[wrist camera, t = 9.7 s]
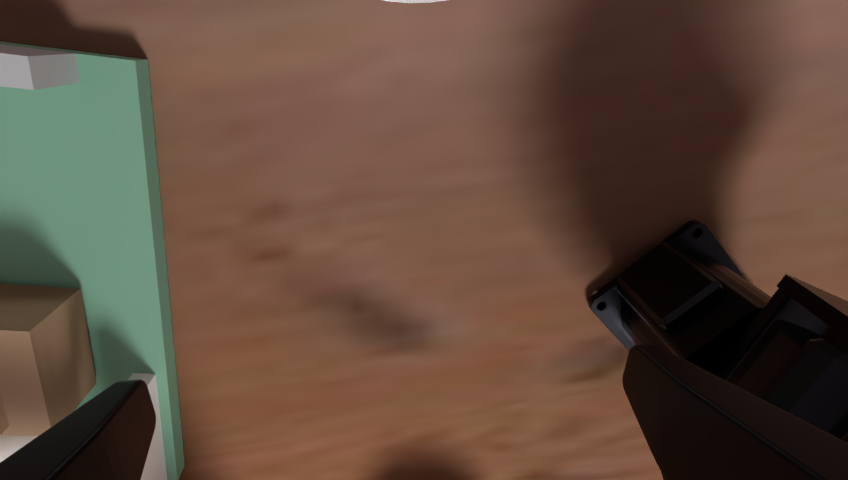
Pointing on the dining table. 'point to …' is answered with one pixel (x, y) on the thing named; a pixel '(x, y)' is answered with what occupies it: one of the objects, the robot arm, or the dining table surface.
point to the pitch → (92, 215)
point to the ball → (12, 444)
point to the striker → (42, 357)
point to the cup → (414, 1)
